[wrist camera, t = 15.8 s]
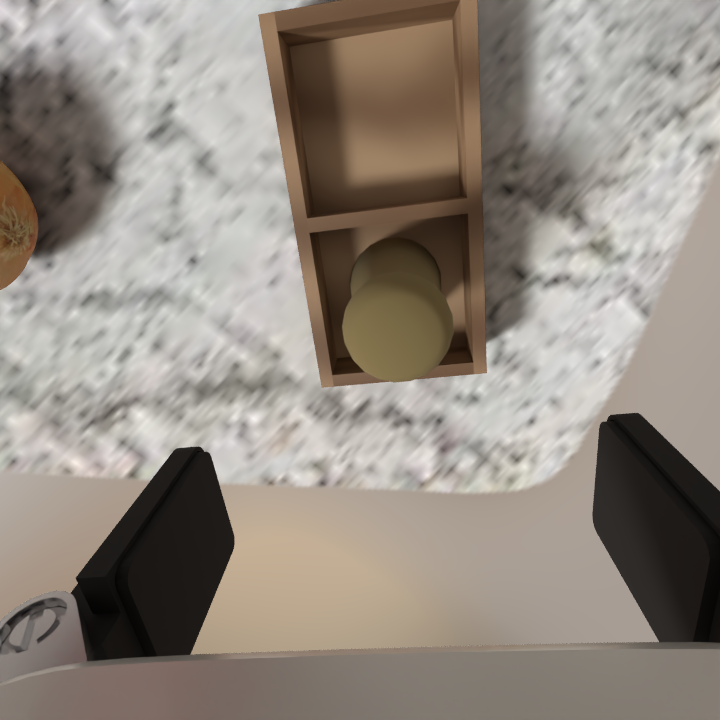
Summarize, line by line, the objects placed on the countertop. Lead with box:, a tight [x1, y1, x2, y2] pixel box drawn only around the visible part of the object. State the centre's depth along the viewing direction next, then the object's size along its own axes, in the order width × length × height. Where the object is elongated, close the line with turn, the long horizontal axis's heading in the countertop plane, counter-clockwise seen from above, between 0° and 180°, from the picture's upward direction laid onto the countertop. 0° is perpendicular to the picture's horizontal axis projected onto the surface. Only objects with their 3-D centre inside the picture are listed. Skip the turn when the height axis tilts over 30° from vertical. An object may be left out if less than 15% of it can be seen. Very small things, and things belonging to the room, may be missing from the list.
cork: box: [342, 237, 454, 382], centre depth 25 cm, size 6×6×11 cm
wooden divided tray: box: [258, 0, 487, 387], centre depth 28 cm, size 20×11×4 cm, turn 7°
